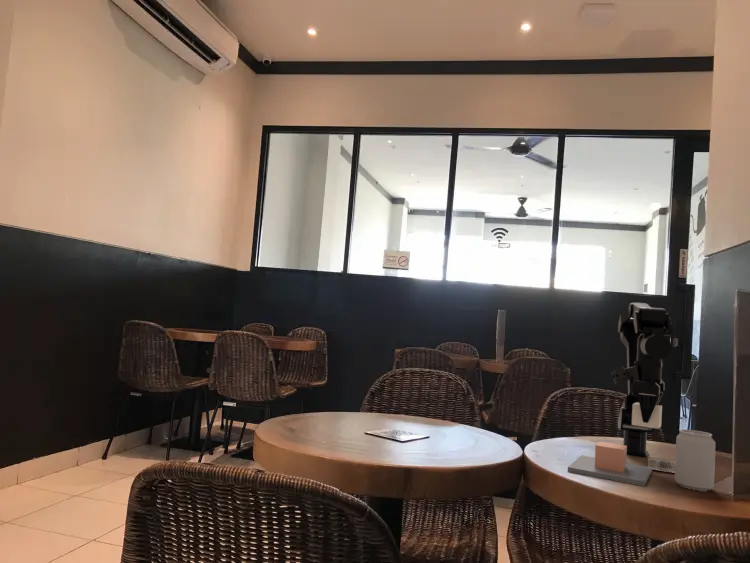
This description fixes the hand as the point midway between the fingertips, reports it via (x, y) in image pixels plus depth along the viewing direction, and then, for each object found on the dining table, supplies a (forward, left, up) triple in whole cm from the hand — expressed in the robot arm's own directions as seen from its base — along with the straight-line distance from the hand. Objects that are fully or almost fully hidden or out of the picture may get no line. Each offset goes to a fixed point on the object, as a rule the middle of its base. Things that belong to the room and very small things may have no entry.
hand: (646, 420), depth 143 cm
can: (+13, +11, -11) cm, 20 cm away
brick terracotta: (+13, -6, -10) cm, 17 cm away
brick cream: (0, 0, -1) cm, 1 cm away
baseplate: (+13, -6, -11) cm, 18 cm away
